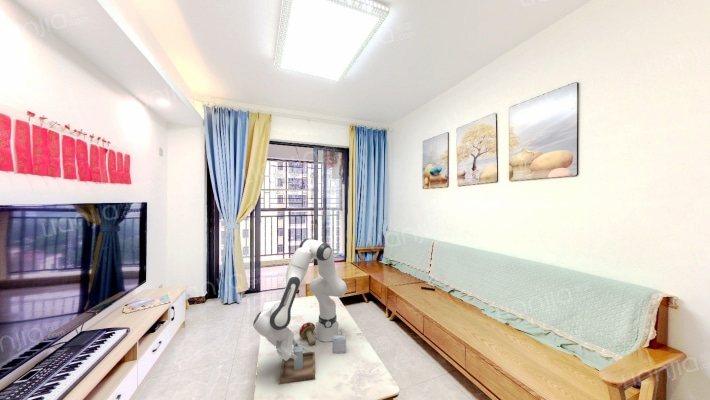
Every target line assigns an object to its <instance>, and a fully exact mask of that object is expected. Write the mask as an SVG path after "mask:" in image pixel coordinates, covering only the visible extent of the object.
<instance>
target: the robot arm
mask: <svg viewBox="0 0 710 400" xmlns="http://www.w3.org/2000/svg"><path fill="white" fill-rule="evenodd" d="M312 259H314V260H317V270H318V271H317V272H318V275H319V276H320V277H316V278H313V279H311V281H310V282H309V286H308V287H309V291H310V292H311V293H312V294H313V296H315V298H316V300H317V302H318V305H319V306H318V308H319V309H318V311H319V315H318V321H317V322H316V323H315V330H314V332H313V336H314V337H315V339H316V340H318V341H320V342H325V343H329V342H333V336H334V335H342V332H341V330H340V328H339V322H338V321H337V313H336V312H337V311H336V310H337V305H336V302H335V300H334V299H332V298H331V297H344V295H345V294H346V292H347V289H348V287H347V283H346V282H345V280H343V279H342V278H341V277H340V276H339V275H338V273H337V271H336V267H335V256H334V252H333V248H332V247H331V246H330V245H329V244H328V243H327V242H326V243H325V242H323V241H321V240H318V239H317V240H316V239H312V238H304V239H302V241H301V242H300V243H299V246H298V247H297V249H296V250H295V251H294V253H293V255H292V257H291V258H290V260H289V263H288V266H287V267H286V272H285V289H284V292H283V295H282V297H281V299H280V302H277V303H274V304H273V306H271V307H269V308H267V309H266V310H262V311H259V313H258V314H256V317H255V318H254V320H253V324H252V327H253V328H254V330H255V331H257V333H258V334H259V335H260V336H262V337H265V339H266V340H267V341H268V342H269V343H270V344H271V345H273V347H275V349H276V353H277V354H278V356H279V357H281V359H282V360H283V359H284V360H285V361H287V360H288V359H289V358H293V359H294V360H296V359H297V355H296V354H294V352H293V347H294V348H295V347H297V346H299V344H298V343H297V342H296V340H295V339H294V338H295V337H294V336H295V334H294V332H293V331H292V330H291V329H290V328H289V327H288V325H289V324H290V323H291V317H292V316H291V313H292V312H291V310H292V308H293V304H294V301H295V299H296V296H297V293H298V290H299V288H300V285H301V284H302V282H303V280H304V278H305V276H306V274H307V272H308V268H309V265H310V262H311V261H312Z"/></svg>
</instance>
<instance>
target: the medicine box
mask: <svg viewBox="0 0 710 400" xmlns="http://www.w3.org/2000/svg"><path fill="white" fill-rule="evenodd" d="M346 340H347V336H346V335H342V334H341V335H334V336H333V341H332V354H346V351H347V348H346V344H347V341H346Z"/></svg>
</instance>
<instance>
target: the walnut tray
mask: <svg viewBox="0 0 710 400" xmlns="http://www.w3.org/2000/svg"><path fill="white" fill-rule="evenodd" d="M314 380H316V355H315V351H309V352H303V368H302V369H301V370H294V359H293V358H289V359H288V360H287V361H285V360H284V359H283V358H282V361H281V366H280V372H279V377H278V385H284V384H291V383H298V382H300V383H301V382H304V381H305V382H307V381H314Z"/></svg>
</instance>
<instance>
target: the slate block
mask: <svg viewBox="0 0 710 400" xmlns="http://www.w3.org/2000/svg"><path fill="white" fill-rule="evenodd" d="M303 348H304V346H303V345H298V346H297V347H294V348H293V349H294V350H293V354H296V355H297V359H296V360H294V370H301V369H302V368H303V353H304V349H303Z"/></svg>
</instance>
